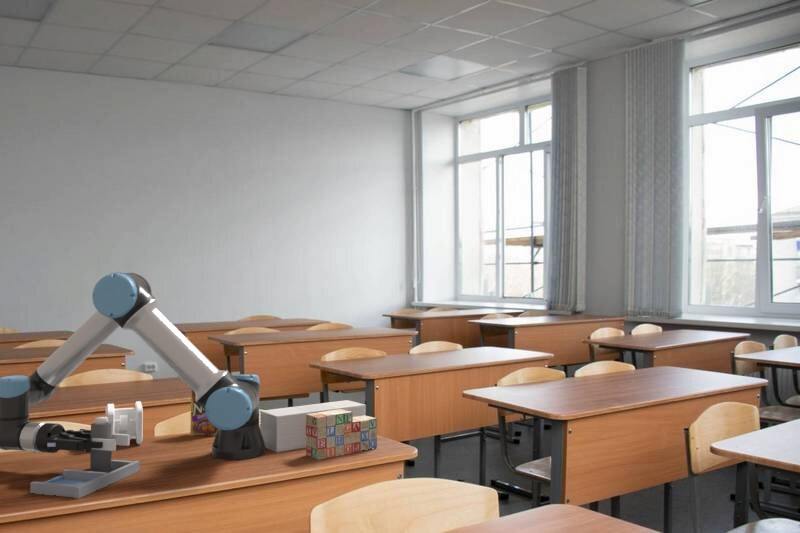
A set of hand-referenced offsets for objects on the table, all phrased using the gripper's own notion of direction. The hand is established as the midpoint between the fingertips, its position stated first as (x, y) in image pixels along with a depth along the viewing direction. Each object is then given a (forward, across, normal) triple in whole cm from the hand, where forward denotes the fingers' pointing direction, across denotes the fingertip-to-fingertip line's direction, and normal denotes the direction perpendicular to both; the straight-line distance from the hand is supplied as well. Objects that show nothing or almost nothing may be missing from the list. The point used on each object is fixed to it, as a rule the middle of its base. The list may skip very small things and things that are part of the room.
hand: (121, 442), depth 182 cm
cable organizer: (-22, -33, -9) cm, 41 cm away
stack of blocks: (+47, -39, -9) cm, 62 cm away
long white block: (+34, -50, -10) cm, 61 cm away
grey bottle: (-6, 0, -8) cm, 10 cm away
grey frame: (-6, +6, -9) cm, 12 cm away
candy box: (-3, -49, -9) cm, 50 cm away
